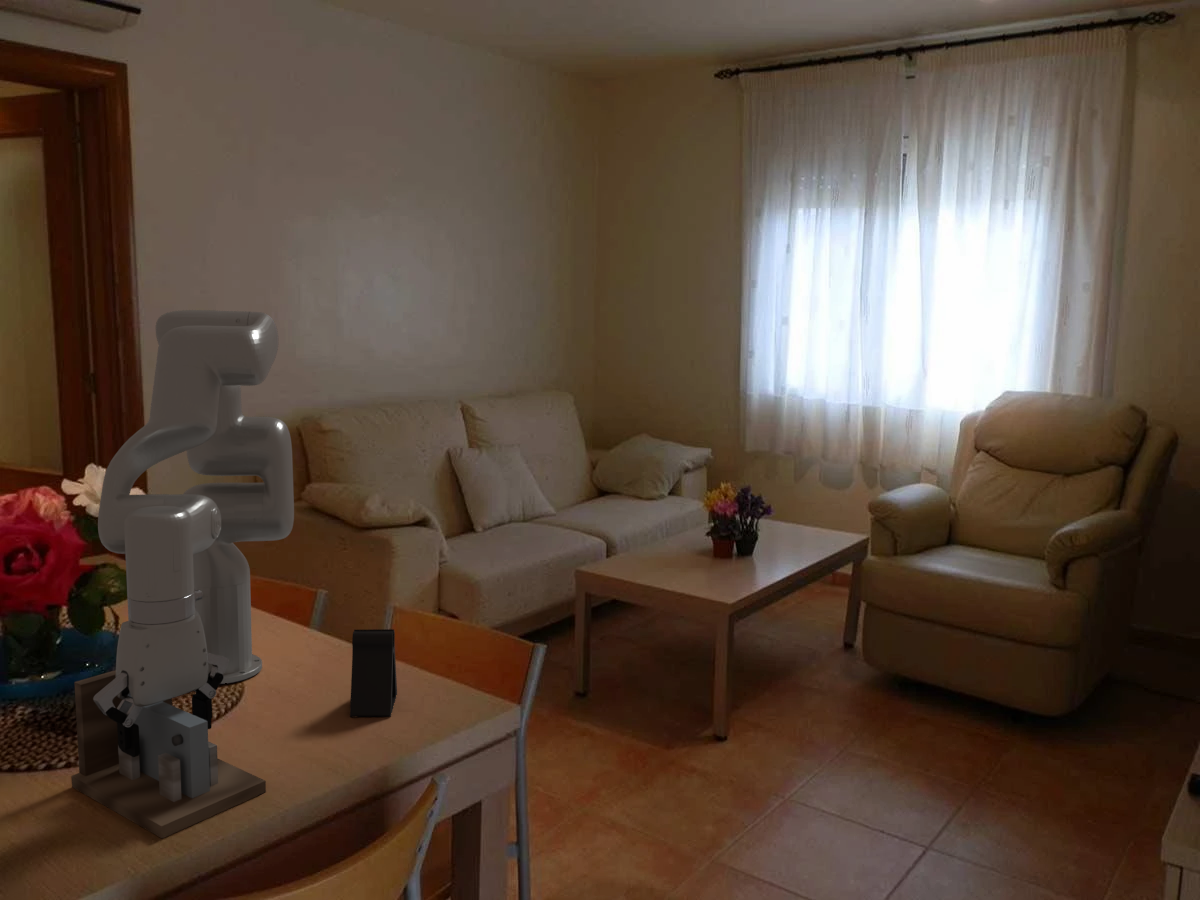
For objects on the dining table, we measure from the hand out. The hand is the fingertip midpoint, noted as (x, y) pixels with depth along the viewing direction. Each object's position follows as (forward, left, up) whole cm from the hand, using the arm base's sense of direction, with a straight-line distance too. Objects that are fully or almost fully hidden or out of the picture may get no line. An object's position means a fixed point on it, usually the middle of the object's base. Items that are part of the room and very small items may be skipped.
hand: (167, 739), depth 125 cm
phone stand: (0, +34, -7) cm, 34 cm away
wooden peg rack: (0, 0, -7) cm, 7 cm away
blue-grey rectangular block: (0, 0, -5) cm, 5 cm away
